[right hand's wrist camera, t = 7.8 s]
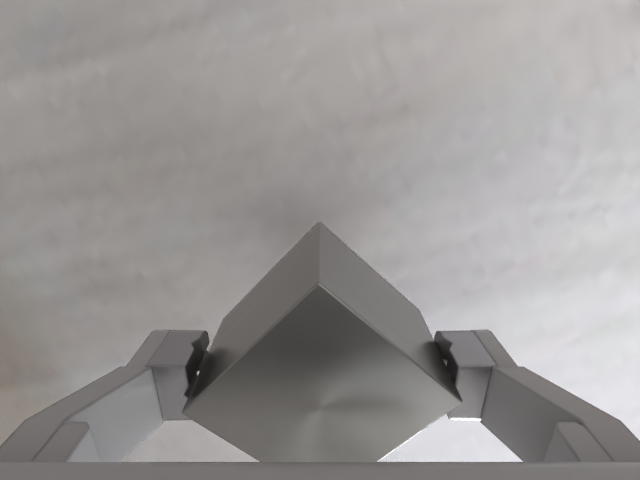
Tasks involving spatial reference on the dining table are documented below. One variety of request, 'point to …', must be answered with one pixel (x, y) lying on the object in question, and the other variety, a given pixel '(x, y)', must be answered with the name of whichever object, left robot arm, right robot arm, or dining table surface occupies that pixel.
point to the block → (321, 363)
